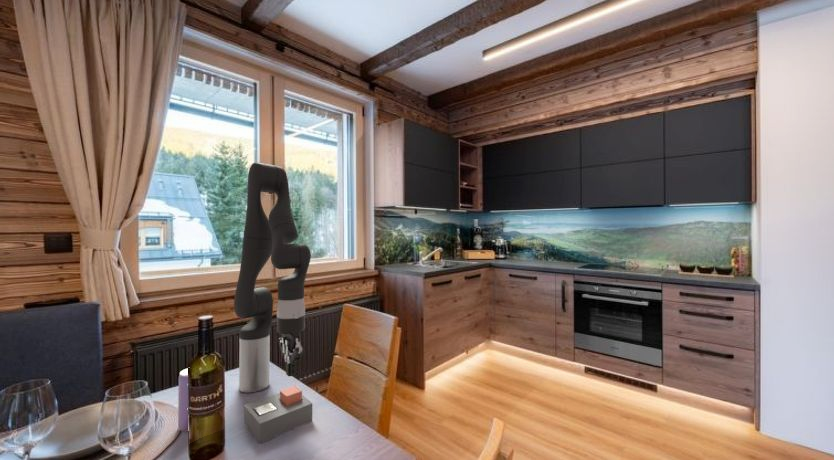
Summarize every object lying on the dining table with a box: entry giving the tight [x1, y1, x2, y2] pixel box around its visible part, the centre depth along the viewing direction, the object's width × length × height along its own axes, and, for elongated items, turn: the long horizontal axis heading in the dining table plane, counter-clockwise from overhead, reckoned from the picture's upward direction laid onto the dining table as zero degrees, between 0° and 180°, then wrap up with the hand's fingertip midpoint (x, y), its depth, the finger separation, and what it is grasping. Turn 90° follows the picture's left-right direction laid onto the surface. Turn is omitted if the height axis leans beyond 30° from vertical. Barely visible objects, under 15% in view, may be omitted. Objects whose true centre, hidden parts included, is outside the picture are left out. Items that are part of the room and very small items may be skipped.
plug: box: [254, 403, 277, 416], centre depth 88 cm, size 4×4×4 cm
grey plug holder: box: [243, 392, 313, 444], centre depth 91 cm, size 12×14×5 cm
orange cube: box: [279, 385, 303, 406], centre depth 93 cm, size 4×4×4 cm
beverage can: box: [177, 367, 189, 433], centre depth 89 cm, size 6×6×15 cm
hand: (291, 374), depth 93 cm, fingers closed
